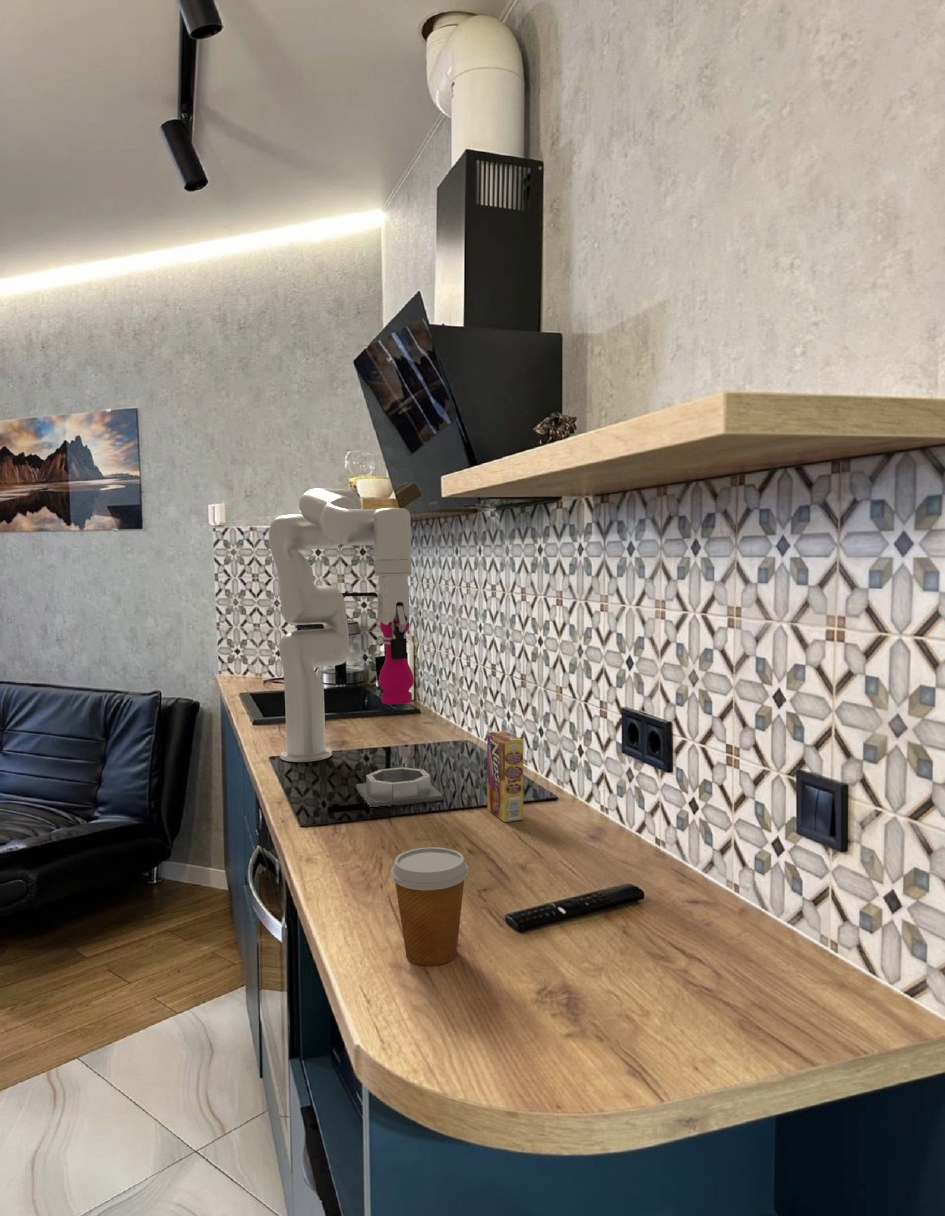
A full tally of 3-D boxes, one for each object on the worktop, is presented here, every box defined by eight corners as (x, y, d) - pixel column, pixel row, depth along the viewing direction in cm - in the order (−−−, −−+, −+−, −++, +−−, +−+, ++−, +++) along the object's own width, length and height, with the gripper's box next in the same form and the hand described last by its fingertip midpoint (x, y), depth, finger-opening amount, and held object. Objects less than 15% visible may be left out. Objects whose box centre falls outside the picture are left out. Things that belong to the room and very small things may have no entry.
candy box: (525, 820, 156) (524, 739, 155) (504, 823, 154) (502, 741, 153) (507, 807, 164) (506, 730, 163) (486, 809, 162) (485, 732, 161)
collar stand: (356, 788, 179) (355, 770, 179) (424, 781, 183) (423, 763, 183) (369, 808, 165) (369, 788, 164) (443, 800, 169) (442, 780, 169)
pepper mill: (417, 699, 176) (414, 603, 175) (411, 704, 169) (408, 605, 167) (383, 699, 176) (380, 604, 175) (375, 705, 169) (373, 606, 168)
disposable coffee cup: (485, 953, 104) (483, 858, 103) (427, 981, 97) (425, 880, 96) (434, 929, 111) (432, 840, 110) (377, 954, 104) (374, 860, 103)
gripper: (367, 569, 178) (369, 654, 179) (384, 569, 162) (386, 663, 163) (401, 568, 180) (403, 652, 181) (421, 568, 164) (423, 660, 165)
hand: (395, 656), depth 172 cm, fingers closed on pepper mill, 5 cm apart
